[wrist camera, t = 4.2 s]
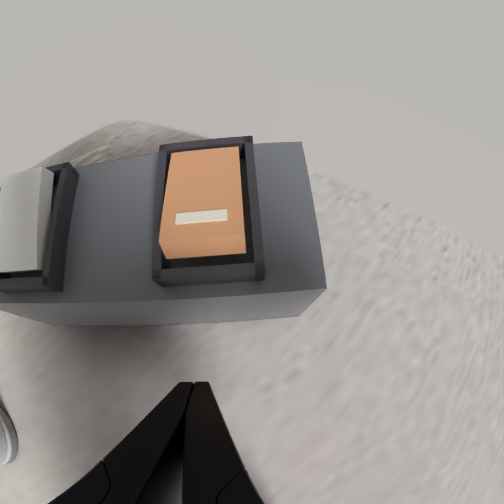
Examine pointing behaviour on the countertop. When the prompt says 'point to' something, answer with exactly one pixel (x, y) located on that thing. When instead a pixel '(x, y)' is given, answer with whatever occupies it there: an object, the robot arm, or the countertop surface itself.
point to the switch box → (152, 257)
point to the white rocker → (25, 219)
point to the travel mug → (7, 439)
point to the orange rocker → (203, 205)
